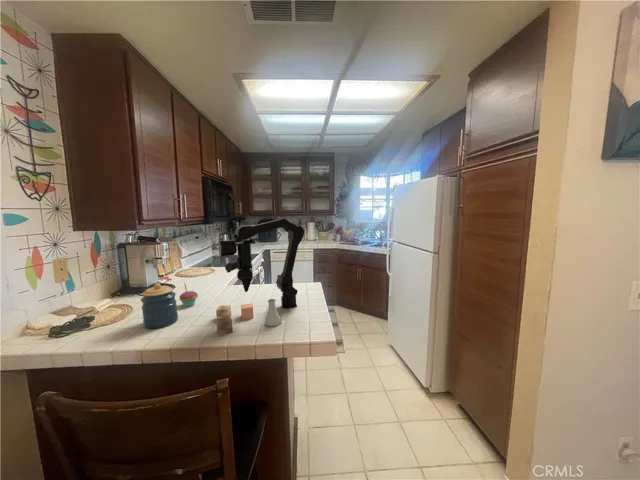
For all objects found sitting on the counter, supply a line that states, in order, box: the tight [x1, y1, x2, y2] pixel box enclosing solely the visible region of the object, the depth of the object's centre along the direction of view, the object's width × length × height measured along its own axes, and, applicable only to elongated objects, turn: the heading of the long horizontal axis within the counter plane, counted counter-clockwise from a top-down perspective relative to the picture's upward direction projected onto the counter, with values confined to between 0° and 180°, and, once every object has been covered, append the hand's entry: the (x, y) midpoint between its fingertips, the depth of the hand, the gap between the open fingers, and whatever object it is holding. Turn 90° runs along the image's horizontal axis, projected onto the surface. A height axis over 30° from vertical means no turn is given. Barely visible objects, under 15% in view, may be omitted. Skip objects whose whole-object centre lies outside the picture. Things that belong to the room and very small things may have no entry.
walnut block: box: [215, 316, 234, 337], centre depth 105 cm, size 5×5×5 cm
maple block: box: [215, 304, 232, 319], centre depth 118 cm, size 5×5×5 cm
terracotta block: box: [240, 302, 254, 321], centre depth 119 cm, size 5×5×5 cm
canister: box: [140, 282, 179, 330], centre depth 115 cm, size 13×13×18 cm
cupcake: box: [178, 281, 199, 308], centre depth 135 cm, size 9×8×12 cm
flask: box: [264, 298, 282, 327], centre depth 111 cm, size 7×7×10 cm
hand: (246, 288), depth 119 cm, fingers open, 9 cm apart
